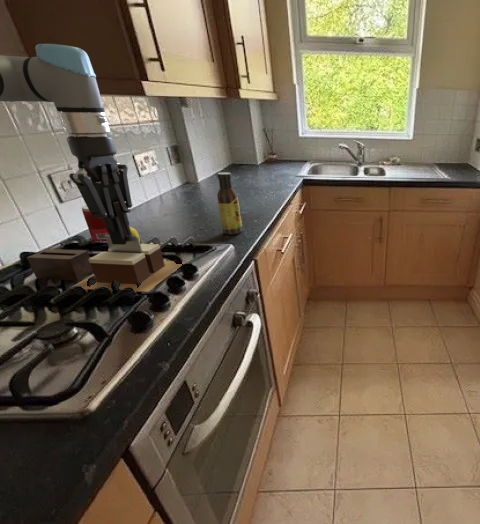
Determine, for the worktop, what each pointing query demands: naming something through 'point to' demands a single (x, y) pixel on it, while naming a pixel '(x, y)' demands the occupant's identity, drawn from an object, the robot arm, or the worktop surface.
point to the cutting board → (145, 285)
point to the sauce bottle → (228, 205)
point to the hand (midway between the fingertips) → (123, 241)
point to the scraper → (131, 241)
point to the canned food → (95, 225)
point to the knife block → (60, 264)
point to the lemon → (134, 233)
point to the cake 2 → (152, 256)
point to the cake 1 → (120, 267)
